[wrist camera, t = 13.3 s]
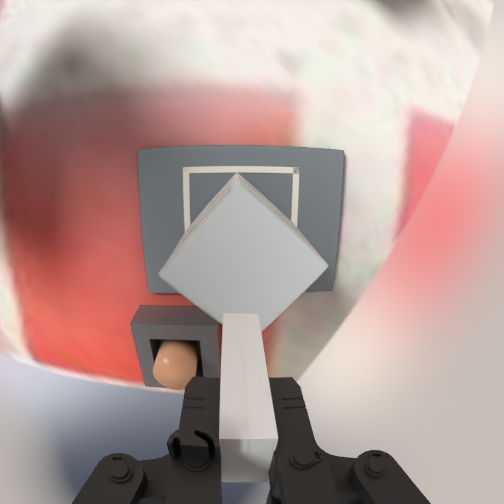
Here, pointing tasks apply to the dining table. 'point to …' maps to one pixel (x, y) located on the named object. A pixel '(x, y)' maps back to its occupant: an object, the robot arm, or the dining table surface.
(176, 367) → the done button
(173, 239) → the slate board
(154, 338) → the button housing
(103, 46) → the dining table surface
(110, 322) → the dining table surface
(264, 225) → the supplement box
